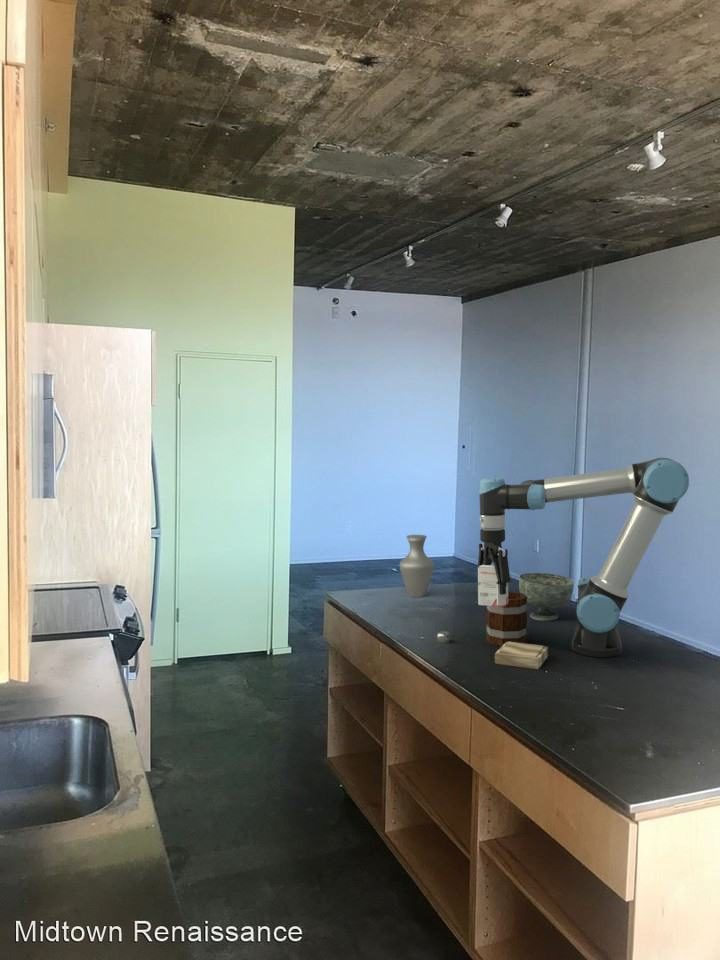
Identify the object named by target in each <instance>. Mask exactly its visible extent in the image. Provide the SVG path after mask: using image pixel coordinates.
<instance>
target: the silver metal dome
mask: <svg viewBox="0 0 720 960" xmlns="http://www.w3.org/2000/svg"><path fill="white" fill-rule="evenodd" d="M436 642H437V643H438V644H444V645H445V644H449V643H450V632H449V631H443V630H442V631H441V630H440V631H437V632H436Z"/></svg>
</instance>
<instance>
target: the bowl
mask: <svg viewBox="0 0 720 960" xmlns="http://www.w3.org/2000/svg"><path fill="white" fill-rule="evenodd" d="M574 583H575V581H574V579H573V578H570V577H568V576H565V575H562V574H555V573H550V572H549V573H548V572H526V573H522V574H520V575H519V579H518V591H519V593H523V594H524V595H526V596H527V603H528V604H531V605H534V606H536V607H539V609H537V610H534V611H531V612H530V614H529V616H530V618H531V619H533V620H536V621H547V622H548V621H555V620H558V619H559V614H558V613H557V612H555V611H553V610H550V608H559V607H562V606H564V605H566V604H568V603H569V601H571V598H572V596H573V590H574Z"/></svg>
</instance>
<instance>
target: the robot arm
mask: <svg viewBox="0 0 720 960" xmlns="http://www.w3.org/2000/svg"><path fill="white" fill-rule="evenodd" d="M689 477H690V476H689V474H688V470H687V469H686V468H685V466H683V465H682V463H680V462H678V461H676V460H673V459H671V458H667V457H657V458H654V459H651V460H647V461H642V462H636V463H631V464H629V466H627V467H625V468H619V469H609V470H603V471H602V470H601V471H594V472H587V473H579V474H571V475H564V476H558V477H556V476H555V477H550V478H549V477H548V478H544V479H535V480H534V479H533V480H532V479H529V480H523V482H521V483H519V484H509V483H508V484H507V483H506V482H505V479H504V478H502V477H484V478H482V479H481V480H480V481H479V492H478V495H479V523H480V524H479V525H480V528H481V529H480V531H479V532H480V533H479V536H480V537H479V539H480V541H481V542H482V543H479V544H478V558H477V559H478V560H477V571H476V572H477V574H478V567H479V566H481V565H494V567H495V571H496V575H497V579H498V582H497V583H496V584H497V605H505V604H506V583H508V584H509V583H510V582H511V576H510V566H509V560H508V559H509V558H508V552H509V551H508V549H507V548H505V549H504V548H503V547H502V543H503V542H505V541H506V529H504V528H506V510H531V511H535V510H543V509H544V508H545V507H546V504H547V503H554V502H556V503H557V502H564V501H570V500H578V499H589V498H598V497H606V496H613V495H614V496H615V495H622V494H630V493H631V494H632V496H633V500H634V502H635V503H634V504H633V507H632V508H631V511H630V512H629V514H628V516H627V518H626V520H625V523H624V524H623V526H622V528H621V530H620V531H619V534H618V535H617V538H616V540H615V542H614V543H613V546H612V548H610V549H611V550H610V552H609V553H608V556H606V559H605V561H604V563H603V566H602V567H601V569H600V571H599V572H598V574H597V575H594V576H584V577H583V576H582V577H580V578H579V579H578V580H577V581H578V583H577V604H576V605H577V606H576V611H575V612H576V617H577V625H576V628H575V631H574V634H573V636H572V639H571V650H572V651H573V652H575V653H577V654H579V655H583V656H588V657H595V658H611V657H612V658H613V657H617V656H620V655H621V654H622V653H623V643H622V641H621V637H620V634H619V631H618V628H617V627H618V626H617V624H618V622H619V621H620V618H621V617H620V616H621V611H622V610H623V607H624V606H625V603H626V602H627V601H628V598H629V595H628V592H627V588H628V586H629V584H630V582H631V581H632V579H633V577H634V575H635V573H636V571H637V569H638V567H639V566H640V563H641V561H642V559H643V557H644V556H645V553H646V551H648V547H649V546H650V545H651V542H652V540H653V538H654V536H655V535H656V533H657V530H658V529H659V526H660V525H661V523H662V521H663V519H664V517H665V516H667V515H670V514H673V512H674V510H675V508H676V507H677V505H678V503H679V501H680V500H681V499H682V498H683V497H684V495H686V493H687V491H688V490H689V487H690V478H689Z"/></svg>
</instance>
